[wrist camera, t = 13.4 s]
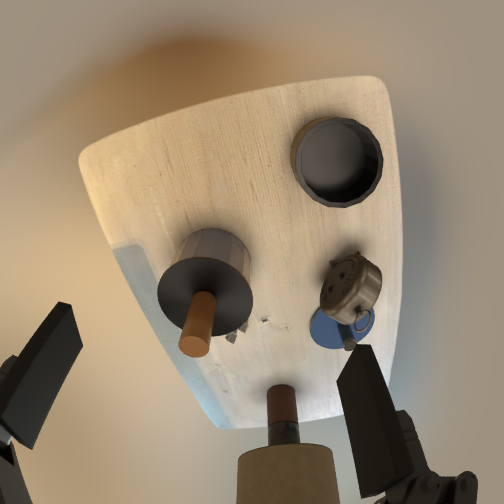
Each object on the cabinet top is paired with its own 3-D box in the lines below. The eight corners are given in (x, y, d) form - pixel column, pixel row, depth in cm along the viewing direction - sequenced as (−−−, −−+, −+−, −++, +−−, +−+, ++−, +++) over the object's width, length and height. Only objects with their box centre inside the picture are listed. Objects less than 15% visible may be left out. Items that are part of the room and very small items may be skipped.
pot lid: (301, 308, 54) (306, 334, 48) (368, 285, 52) (381, 308, 45) (317, 352, 60) (323, 377, 53) (375, 332, 57) (386, 355, 51)
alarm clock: (330, 295, 53) (351, 358, 38) (308, 282, 51) (325, 347, 37) (368, 251, 48) (406, 307, 34) (347, 236, 47) (382, 290, 33)
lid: (142, 272, 39) (116, 318, 30) (229, 240, 37) (221, 284, 28) (187, 339, 45) (175, 388, 36) (266, 317, 42) (269, 369, 33)
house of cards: (243, 344, 58) (242, 372, 52) (208, 324, 56) (203, 352, 49) (271, 319, 55) (273, 347, 48) (235, 296, 53) (233, 324, 46)
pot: (165, 243, 48) (145, 276, 39) (232, 217, 46) (227, 246, 36) (197, 300, 53) (187, 339, 44) (261, 280, 51) (262, 318, 42)
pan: (278, 131, 40) (281, 134, 35) (355, 108, 37) (368, 108, 33) (305, 207, 45) (312, 219, 40) (377, 182, 43) (391, 192, 38)
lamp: (246, 413, 72) (243, 527, 41) (234, 371, 63) (226, 516, 31) (318, 407, 71) (334, 520, 39) (322, 363, 61) (349, 505, 30)
